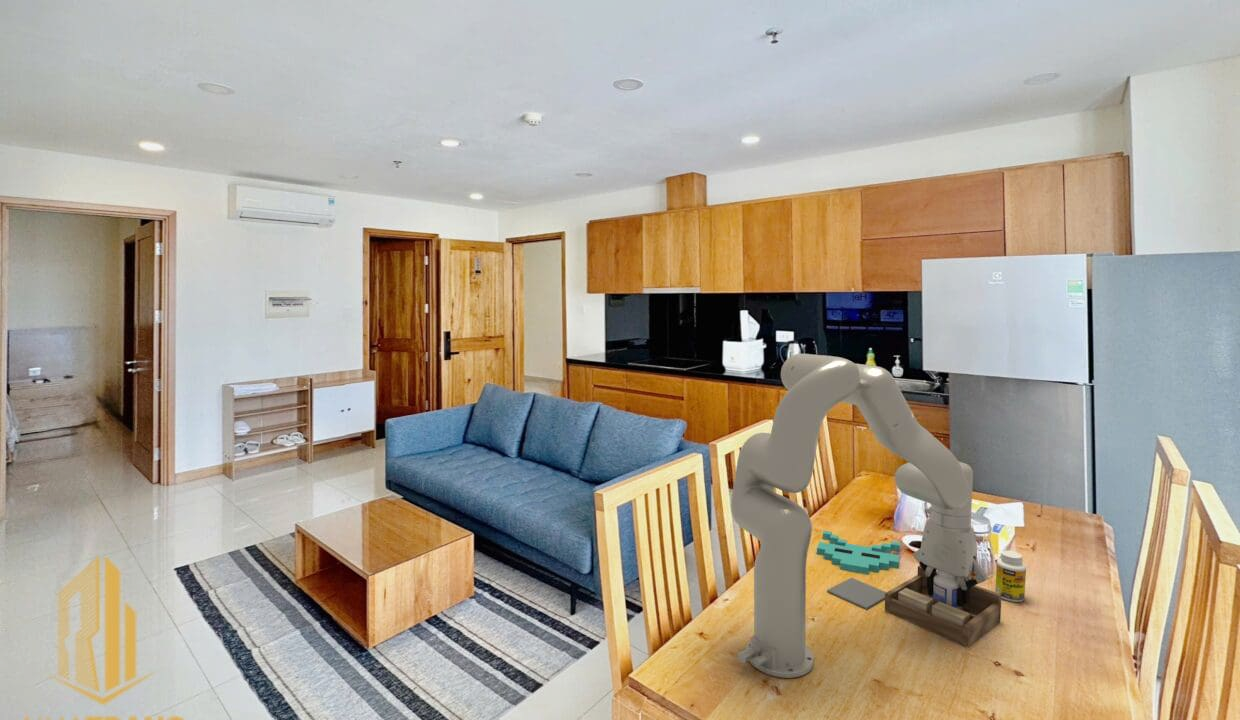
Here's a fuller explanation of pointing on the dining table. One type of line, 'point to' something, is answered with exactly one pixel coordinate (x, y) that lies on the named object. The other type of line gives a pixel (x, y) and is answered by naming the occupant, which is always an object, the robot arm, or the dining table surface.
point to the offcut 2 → (950, 614)
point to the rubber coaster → (858, 593)
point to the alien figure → (858, 555)
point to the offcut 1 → (916, 600)
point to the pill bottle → (946, 588)
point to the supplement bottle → (1010, 576)
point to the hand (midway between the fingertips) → (947, 597)
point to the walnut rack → (979, 603)
